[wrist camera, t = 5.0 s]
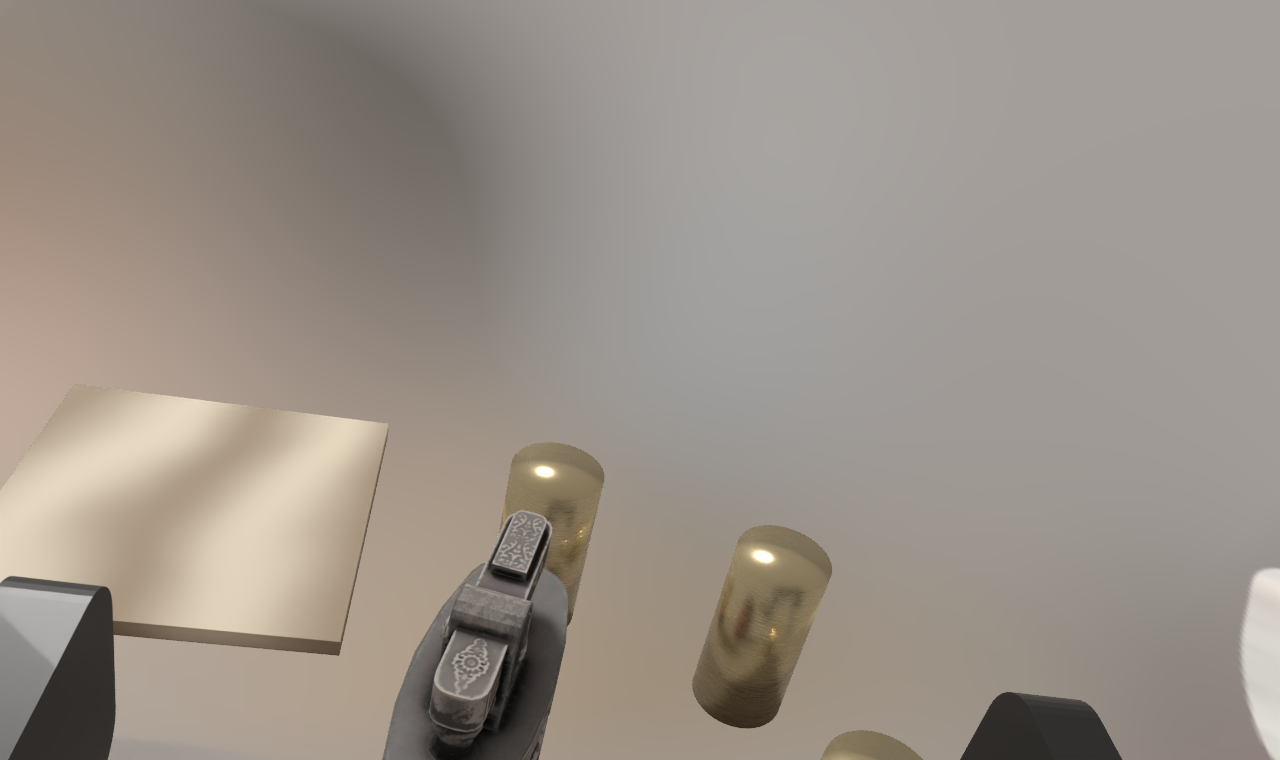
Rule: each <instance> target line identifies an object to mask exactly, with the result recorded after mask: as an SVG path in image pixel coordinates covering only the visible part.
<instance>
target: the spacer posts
mask: <svg viewBox="0 0 1280 760" xmlns="http://www.w3.org/2000/svg"><path fill="white" fill-rule="evenodd" d="M603 483H604V472H603V469H602V467H601V466H600V465H599V463H598V462H597V461H596V460H595V459H594V458H593V457H592V456H591V455H589V454H588V453H586V452H584V451H582V450H580V449H578V448H576V447H573V446H569V445H565V444H560V443H537V444H533V445H529V446H527V447H525V448H523V449H521V450H520V451H519V452H517V453H516V454H515V456H514V458H513V460H512V464H511V469H510V475H509V481H508V486H507V493H506V497H505V503H504V509H503V514H502V520H501V525H500V531H501V529H502V527H503V524H504V522H505V520H506V519H507V518H508V516H510V515H512V514H514V513H516V512H517V511H521V510H523V511H529V512H533V513H536V514H539V515H542V516H544V517H545V518H546V520H547V521H548V522H549V523H551V526H552V528H553V529H552V535H551V540H550V544H549V549H548V554H547V559H546V563H545V566H544V568H545V569H547V570H548V571H550V572H551V573H553V574H554V575H556V576H557V577H558V578H559V579H560V581H561V582H562V583H563V584H564V586H565V587H566V590H567V595H568V613H567V626H568V625H569V623H570V621H571V619H572V615H573V610H574V606H575V602H576V598H577V593H578V589H579V585H580V581H581V576H582V572H583V568H584V563H585V559H586V555H587V551H588V547H589V542H590V538H591V534H592V530H593V525H594V521H595V517H596V513H597V508H598V504H599V500H600V496H601V491H602V487H603ZM500 531H499V533H500ZM831 574H832V565H831V562H830V560H829V557H828V556H827V554H826V553H825V551H824V550H823V549H822V548H821V547H820V546H819V545H818V544H817V543H816V542H814V541H813V540H812V539H810V538H809V537H807V536H805V535H803V534H801V533H799V532H797V531H794V530H792V529H789V528H785V527H780V526H772V525H764V526H758V527H754V528H751V529H749V530H747V531H746V532H744V533H743V534H742V535H741V536H740V538H739V540H738V543H737V546H736V549H735V552H734V555H733V558H732V561H731V564H730V567H729V570H728V573H727V576H726V579H725V582H724V586H723V588H722V591H721V595H720V598H719V601H718V604H717V607H716V610H715V613H714V616H713V619H712V622H711V626H710V628H709V631H708V635H707V638H706V641H705V644H704V647H703V650H702V653H701V656H700V659H699V662H698V665H697V668H696V671H695V675H694V677H693V684H692V685H693V692H694V695H695V697H696V699H697V701H698V703H699V704H700V705H701V707H702V708H703V709H704V710H705V711H706V712H707V713H708V714H709V715H711V716H712V717H713V718H715V719H717V720H718V721H720V722H722V723H725V724H727V725H730V726H734V727H739V728H756V727H760V726H763V725H765V724H767V723H769V722H770V721H771V720H772V719H773V718H774V717H775V716H776V714H777V712H778V710H779V707H780V705H781V702H782V699H783V697H784V694H785V692H786V689H787V687H788V684H789V682H790V679H791V677H792V674H793V671H794V669H795V666H796V664H797V661H798V659H799V656H800V654H801V651H802V649H803V646H804V643H805V641H806V638H807V636H808V633H809V631H810V628H811V625H812V623H813V621H814V618H815V615H816V613H817V610H818V608H819V605H820V602H821V600H822V598H823V595H824V593H825V590H826V587H827V585H828V582H829V580H830V577H831ZM821 760H923V759H922V758H921V757H920V756H919V755H918V754H917V753H916V752H914V751H913V750H911V748H909V747H908V746H906V745H905V744H903V743H901V742H900V741H898V740H896V739H894V738H892V737H890V736H887V735H884V734H881V733H877V732H873V731H862V730H861V731H860V730H859V731H851V732H846V733H844V734H842V735H839V736H838V737H836V738H835V739H834V740H832V741H831V742H830V744H829V745H828V746H827V748H826V750H825V752H824V754H823V756H822V758H821Z"/></svg>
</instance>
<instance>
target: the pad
mask: <svg viewBox="0 0 1280 760" xmlns="http://www.w3.org/2000/svg"><path fill="white" fill-rule="evenodd" d="M388 428H389V424H385V423H377V422H369V421H361V420H353V419H345V418H338V417H330V416H322V415H314V414H306V413H299V412H290V411H283V410H275V409H267V408H259V407H251V406H243V405H236V404H227V403H219V402H212V401H204V400H196V399H189V398H181V397H173V396H165V395H156V394H149V393H141V392H134V391H126V390H118V389H110V388H102V387H94V386H86V385H78V384H74V385H73V387H72V388H71V389H70V391H69V392H68V394H67V395H66V397H65V398H64V400H63V401H62V403H61V404H60V405H59V407H58V408H57V410H56V411H55V413H54V414H53V416H52V417H51V419H50V420H49V421H48V423H47V424H46V426H45V427H44V429H43V430H42V432H41V433H40V435H39V436H38V437H37V439H36V440H35V442H34V443H33V445H32V446H31V448H30V449H29V450H28V452H27V453H26V455H25V456H24V458H23V459H22V461H21V462H20V464H19V465H18V466H17V468H16V469H15V471H14V472H13V474H12V475H11V477H10V478H9V479H8V481H7V482H6V484H5V485H4V487H3V488H2V490H1V491H0V583H1V582H2V581H3V580H4V579H6V578H7V577H9V576H18V577H27V578H35V579H44V580H53V581H62V582H71V583H79V584H88V585H97V586H105V587H107V588H108V589H109V590H110V592H111V596H112V605H113V635H122V636H123V635H124V636H134V637H145V638H155V639H166V640H177V641H188V642H198V643H209V644H220V645H232V646H242V647H252V648H253V647H254V648H264V649H274V650H285V651H296V652H307V653H318V654H329V655H339V653H340V649H341V645H342V640H343V635H344V630H345V626H346V622H347V618H348V613H349V608H350V604H351V599H352V595H353V590H354V586H355V581H356V577H357V572H358V568H359V563H360V559H361V554H362V550H363V545H364V540H365V536H366V532H367V527H368V522H369V518H370V514H371V508H372V504H373V500H374V495H375V491H376V486H377V482H378V477H379V473H380V468H381V464H382V459H383V455H384V450H385V446H386V441H387V437H388Z"/></svg>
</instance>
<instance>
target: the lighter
mask: <svg viewBox="0 0 1280 760" xmlns="http://www.w3.org/2000/svg"><path fill="white" fill-rule="evenodd" d="M552 529H553V528H552V526H551V523H549V522H548V521H547V520H546V518H545V517H544V516H542V515H539V514H536V513H533V512H529V511H523V510H521V511H517V512H516V513H514V514H512V515H510V516H508V518H507V519H506V520H505V522H504V524H503V527H502V529H501V531H500V533H499V535H498V537H497V540H496V542H495V544H494V546H493V548H492V550H491V553H490V555H489V557H488V559H487V561H486V563H483V564H481V565H479V566H478V567H477V568H475V569H474V570H473V571H472V572H471V573H470V574H469V575H468V577H467V578H466V579H465V580H464V581H463V583H462V584H461V585H460V586H459V587H458V588H457V590H456V591H455V592H454V593H453V594H452V596H451V597H450V598H449V599H448V600H447V602H446V603H445V604H444V605H443V606H442V608H441V610H440V611H439V613H438V614H437V616H436V618H435V619H434V621H433V623H432V624H431V626H430V628H429V630H428V631H427V633H426V634H425V636H424V638H423V639H422V641H421V642H420V644H419V646H418V647H417V649H416V651H415V653H414V656H413V658H412V661H411V663H410V666H409V668H408V671H407V673H406V676H405V679H404V682H403V684H402V686H401V689H400V692H399V694H398V697H397V699H396V702H395V705H394V710H393V714H392V719H391V723H390V727H389V732H388V737H387V741H386V745H385V750H384V754H383V759H382V760H538V759H539V755H540V750H541V746H542V741H543V737H544V733H545V728H546V724H547V719H548V716H549V713H550V709H551V705H552V701H553V697H554V692H555V688H556V684H557V679H558V675H559V670H560V665H561V661H562V657H563V652H564V648H565V643H566V630H567V613H568V595H567V590H566V587H565V586H564V584H563V583H562V582H561V581H560V579H559V578H558V577H557V576H556V575H554V574H553V573H551V572H550V571H548V570H547V569H545V568H544V566H545V563H546V559H547V554H548V549H549V544H550V540H551V535H552Z"/></svg>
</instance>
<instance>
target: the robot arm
mask: <svg viewBox="0 0 1280 760" xmlns="http://www.w3.org/2000/svg"><path fill="white" fill-rule="evenodd" d="M114 673H115V672H114V638H113V605H112V596H111V592H110V590H109V589H108V588H107V587H105V586H97V585H88V584H79V583H71V582H62V581H53V580H44V579H35V578H27V577H18V576H9V577H7V578H6V579H4V580H3V581H2V582H1V583H0V760H108V756H109V752H110V747H111V743H112V737H113V732H114V724H115V707H116V706H115V674H114ZM960 760H1122V759H1121V757H1120V755H1119V753H1118V751H1117V749H1116V747H1115V746H1114V744H1113V742H1112V740H1111V738H1110V736H1109V735H1108V733H1107V731H1106V729H1105V727H1104V725H1103V723H1102V722H1101V720H1100V718H1099V717H1098V715H1097V713H1096V712H1095V711H1094V710H1093V709H1092V707H1091V706H1089V705H1088V704H1087V703H1085V702H1083V701H1081V700H1074V699H1065V698H1056V697H1047V696H1039V695H1030V694H1021V693H1012V692H1006V693H1002V694H1001V695H999V696H998V697H996V699H995V700H994V701H993V702H992V704H991V705H990V707H989V709H988V710H987V712H986V714H985V716H984V718H983V719H982V721H981V723H980V725H979V727H978V729H977V730H976V732H975V734H974V736H973V738H972V739H971V741H970V743H969V745H968V747H967V748H966V750H965V752H964V754H963V756H962V757H961V759H960Z"/></svg>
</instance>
